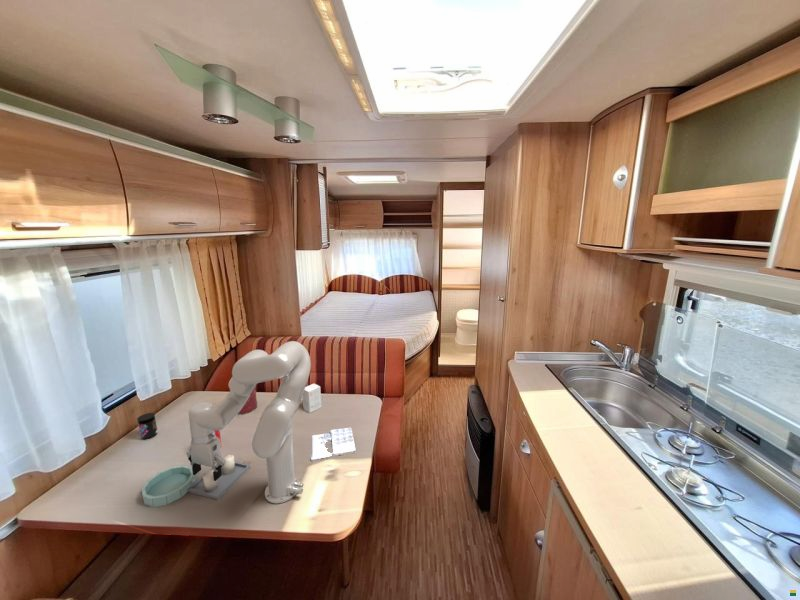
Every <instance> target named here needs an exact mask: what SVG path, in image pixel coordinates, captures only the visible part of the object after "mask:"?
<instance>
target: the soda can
mask: <svg viewBox="0 0 800 600" xmlns="http://www.w3.org/2000/svg"><path fill="white" fill-rule="evenodd" d="M215 435H216V437H217V439H218V441H219V445H220V449H221V448H222V440H221V439H222V438H221V430H219V431H215Z"/></svg>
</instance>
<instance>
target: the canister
mask: <svg viewBox="0 0 800 600" xmlns="http://www.w3.org/2000/svg"><path fill="white" fill-rule="evenodd" d="M256 388H257V385H256V386H255V388H254V389H253V391H252V393H251V395H250V397H249V399H248V400H247V402H246V403H245V405H244V406H243V408H242V409H241V410H240V412H239V413H238V414H237V415H244V414H248V413H251V412H252V411H254V410H256V409H257V407H258V400H257V391H256Z"/></svg>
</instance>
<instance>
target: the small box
mask: <svg viewBox="0 0 800 600" xmlns="http://www.w3.org/2000/svg"><path fill="white" fill-rule="evenodd" d="M321 390H322V389H321V386H320V385H319V384H316V383H312V384H310V385H306V386H305V389H304V392H303V395H302V405H303V406H302V407H303V410H304V411H305V412H307V413H309V414H312V413H313V412H315V411H317V410H319V409H321V408H322V394H321Z"/></svg>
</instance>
